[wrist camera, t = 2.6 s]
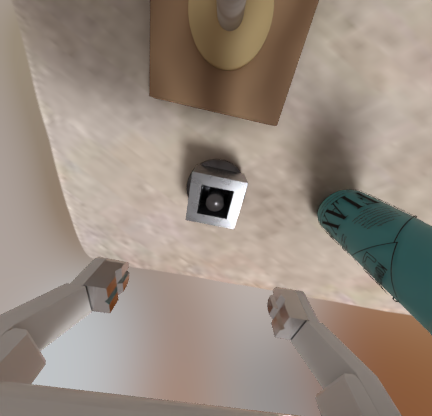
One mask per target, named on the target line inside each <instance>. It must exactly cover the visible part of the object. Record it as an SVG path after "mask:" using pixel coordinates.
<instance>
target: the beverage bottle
mask: <svg viewBox="0 0 432 416" xmlns="http://www.w3.org/2000/svg"><path fill="white" fill-rule="evenodd" d="M360 191H361V190H360ZM360 191H356V190H341V191H338V192H335V193H333V194H331V195H330V196H329V197H327V198H326V199H325V200H324V201H323V202H322V204H321V205H320V207H319V210H318V221H319V222H320V224H321V227H323V228H324V229H325V230H326V231H327V232H328V233H329V234H330V235H329V234H328V233H327V232H326V231H325V232H326V233H327V234H328V235H329V236H330V237H331V238H332V239H333V238H334V239H335V240H336V241H337V242H338V243H339V244H340V246H342V248H343V249H344V250H346V251H347V252H346V253H347V254H348V253H349V254H350V255H351V256H352V257H353V258H354V260H356V261H358V262H359V263H360V264H361V265H362V266H363V267H364V268H363V269H366V270H367V271H368V272H369V273H370V275H372V276H373V278H375V280H376V281H377V282H378V283H379V284H381V285H382V286H383V287H384V288H385V289H386V290H387V291H388V292H389V293H390V294H391V295H392V296H393V300H394V298H395V299H396V300H397V301H396V302H399V303H400V304H401V305H402V306H403V307H404V308H405V309H406V310H407V311H408V312H409V313H410V314H411V315H412V316H413V317H414V318H415V319H416V320H417V321H419V322H420V323H421V324H422V325H423V326H424V327H425V328H426V329H427V330H428V331H429V332H430V334H431V335H432V226H430V225H428V224H426V223H424V222H423V221H421V220H419V219H417V216H416V217H415V216H414V215H413V216H411V214H410V213H409V214H410V215H409V214H407V213H404V212H405V211H404V210H403V211H404V212H402V211H400V210H401V209H400V210H398V209H399V208H398V209H396V208H397V207H396V208H394V207H395V206H394V207H392V206H390V205H388V204H387V203H386V202H385V203H386V204H385V203H383V202H384V201H383V202H381V201H382V200H381V201H379V200H380V199H378V198H377V199H378V200H377V199H376V198H374V196H372V197H371V195H370V196H369V194H368V193H367V194H368V195H366V194H364V193H362V192H360ZM365 193H366V192H365ZM324 229H323V230H324ZM334 239H333V240H334ZM335 240H334V241H335ZM336 241H335V242H336ZM337 242H336V243H337ZM338 243H337V244H338ZM339 244H338V245H339ZM350 255H349V256H350ZM351 256H350V257H351ZM357 264H358V263H357ZM367 271H365V272H366V273H367V274H368V272H367ZM368 275H369V274H368ZM370 275H369V276H370ZM370 277H371V276H370ZM371 278H372V277H371ZM373 278H372V279H373ZM373 280H374V279H373ZM377 282H376V283H377ZM381 285H380V286H381ZM382 286H381V288H382V289H383V287H382ZM383 290H384V289H383ZM384 291H385V290H384ZM385 292H386V291H385ZM394 301H395V300H394Z"/></svg>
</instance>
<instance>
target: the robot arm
mask: <svg viewBox="0 0 432 416" xmlns="http://www.w3.org/2000/svg"><path fill="white" fill-rule="evenodd" d="M128 268H129V263H128V262H124V261H119V260H113V259H108V258H103V257H97V258H95V259H94V260H93V261H92V262H91V263H90V264H89V265H88V266H87V267H86V268H85V269H84V270H83V271H82V272H81V273H80V274H79V275H78V276H77V277H76V278H75V279H74V280H73V281H72V282H71V283H70V284H69V283H66V284H64V285H62V286H60V287H58V288H55V289H53V290H51V291H49V292H47V293H45V294H43V295H41V296H39V297H37V298H35V299H33V300H30V301H28V302H26V303H24V304H22V305H20V306H18V307H16V308H14V309H12V310H10V311H7V312H6V313H3V314H1V315H0V416H299V415H290V414H282V413H273V412H264V411H256V410H248V409H239V408H230V407H222V406H213V405H205V404H196V403H187V402H178V401H169V400H162V399H153V398H145V397H135V396H127V395H119V394H110V393H101V392H93V391H84V390H75V389H66V388H58V387H50V386H42V385H32V382H33V381H34V379H35V378H36V377H37V375H38V374H39V372H40V371H41V370H42V369H43V367H44V366H45V362H46V360H45V358H44V357H43V355H42V354H41V352H40V351H41V350H42V349H44V348H45V347H46V346H48V345H49V344H50V343H52V342H53V341H54V340H55V339H57V338H58V337H60V336H61V335H62V334H64V333H65V332H66V331H68V330H69V329H70V328H71V327H73V326H74V325H75V324H77V323H78V322H79V321H81V320H82V319H83V318H85V317H86V316H87V315H89V314H90V313H91V312H92V311H96V312H104V313H111V311H112V310H113V308H114V306H115V304H116V303H117V301H118V295H119V294H120V293H122V292H123V291H124V290H125V288H126V286H127V284H128V281H129V272H128V271H127V269H128ZM267 307H268V312H269V315H270V316H271V317H272V319H273V320H272V323H271V324H272V328H273V332H274V335H275V337H276V338H280V339H286V340H291V342H292V344H293V346H294V347H295V348H296V350H297V351H298V353H299V354H300V356H301V357H302V359H303V360H304V362H305V363H306V364H307V366H308V367H309V369H310V370H311V372H312V373H313V374H314V376H315V378H316V379H317V381H318V382H319V383H320V385H321V386H322V388H323V390H322V391H320V392H319V393H317V394H316V397H315V399H316V402H317V405H318V408H319V411H320V414H321V416H402V415H401V414H400V412H399V411H398V409H397V408H396V406H395V404H394V403H393V401H392V400H391V398H390V396H389V395H388V393H387V392H386V390H385V388H384V387H383V385H382V384H381V382H380V381H379V379H378V377H377V376H376V375H375V374H374V373H373V372H372V371H371V370H370V369H369V368H368V367H367V366H366V365H364V363H363V362H362V361H361V360H359V358H358V357H356V356H355V355H354V354H353V353H352V352H351V351H350V350H349V349H348V348H347V347H346V346H345V345H344V344H343V343H342V342H341V341H340V340H339V339H338V338H337V337H336V336H335V335H334V334H333V333H332V332H331V331H330V330H329V329H328V328H327V327H326V326H325V325H324V324H323V323H320V322H319V320H318V318H317V317H316V314H315V313H314V311H313V309H312V307H311V305H310V303H309V301H308V299H307V297H306V295H305V293H304V292H303V291H298V290H292V289H286V288H280V287H275V288H274V289H273V295H271V296H270V297H269V299H268V304H267Z"/></svg>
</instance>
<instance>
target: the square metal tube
mask: <svg viewBox="0 0 432 416" xmlns="http://www.w3.org/2000/svg"><path fill="white" fill-rule="evenodd" d="M204 185H206V186H210V187H215V188H220V189H225V190H230V192H229V196H228V199H227V203H226V205H225V204H224V205H223V207H222V209H221V210H219V211H211V210H209V209H208V208H207V206H206V201H205V200H201V197H202V192H203V186H204ZM247 185H248V182H247V180H246V178H245V175H244V174H243V173H238V172H233V171H229V170H224V169H219V168H215V167H210V166H205V165H201V164H197V166H196V167H195V168H194V170H193V171H192V177H191V184H190V192H189V199H188V206H187V214H186V220H189V221H194V222H199V223H204V224H209V225H214V226H220V227H225V228H230V229H234V227H235V224H236V221H237V218H238V214H239V211H240V208H241V205H242V201H243V198H244V195H245V192H246V188H247Z"/></svg>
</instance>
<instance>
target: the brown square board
mask: <svg viewBox="0 0 432 416" xmlns="http://www.w3.org/2000/svg"><path fill="white" fill-rule="evenodd" d="M318 1H319V0H150V93H149V96H151V97H153V98H157V99H161V100H165V101H170V102H174V103H178V104H182V105H187V106H191V107H195V108H200V109H204V110H208V111H212V112H217V113H221V114H225V115H230V116H234V117H238V118H242V119H247V120H251V121H255V122H260V123H264V124H268V125H273V126H277V124H278V121H279V118H280V115H281V112H282V109H283V106H284V103H285V100H286V97H287V94H288V91H289V88H290V85H291V82H292V79H293V76H294V73H295V70H296V67H297V64H298V61H299V58H300V55H301V52H302V49H303V46H304V43H305V40H306V37H307V34H308V31H309V28H310V25H311V22H312V19H313V16H314V13H315V10H316V7H317V4H318Z"/></svg>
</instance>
